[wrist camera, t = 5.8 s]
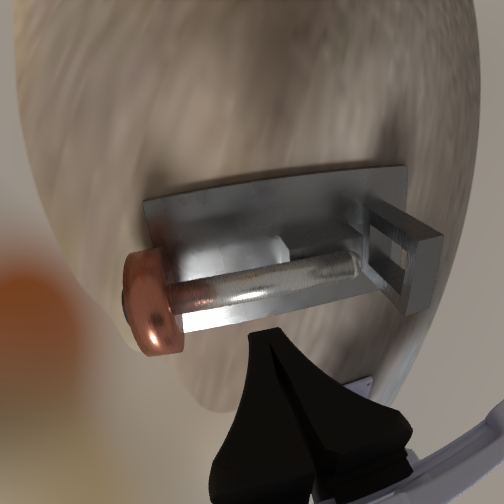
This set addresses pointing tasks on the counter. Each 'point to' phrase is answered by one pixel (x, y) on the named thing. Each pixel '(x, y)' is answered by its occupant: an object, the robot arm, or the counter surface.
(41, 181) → the counter surface
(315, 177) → the eye bracket
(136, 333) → the hammer
